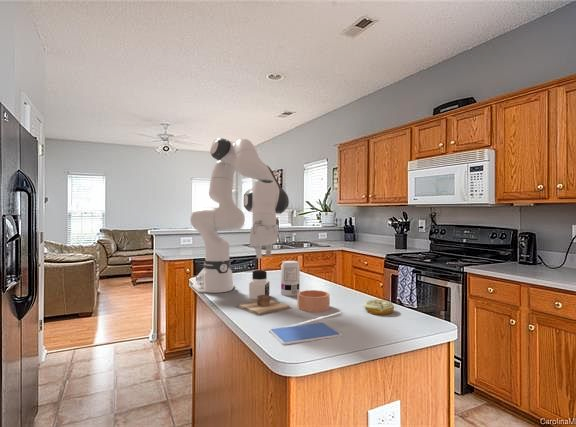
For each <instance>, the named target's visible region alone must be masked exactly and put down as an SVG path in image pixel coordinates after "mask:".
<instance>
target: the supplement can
mask: <svg viewBox="0 0 576 427" xmlns="http://www.w3.org/2000/svg"><path fill="white" fill-rule="evenodd" d="M300 266H301V265H300V264H299V261H297V260H284V261H282V263H281V266H280V270H281V271H280V277H281V278H280V294H281V295H282V296H285V297H295V296H296V297H297V293H299V292H300V276H301V275H300V272H301V271H300V268H301V267H300Z"/></svg>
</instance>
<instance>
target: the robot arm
mask: <svg viewBox="0 0 576 427" xmlns="http://www.w3.org/2000/svg"><path fill="white" fill-rule="evenodd" d="M210 155H211V157H212V158H213V159H215V160H216V162H215V163H214V165H213V167H212V171H211V175H210V180H209V189H208V195H209V197H210V199H211V200H212V201H214V202H216V203H217V204H219V206H218V207H201V208H196V209H194V210H193V211H192V213H191V215H190V223H191V224H190V225H191V227H192V228H193V229H194V230H196V232H198V233H199V234H200V236H201V237H202V240H203V242H204V249H205V250H204V251H205V260H204V261H203V268H202V269H201V270H200V272H199V273H198V274H197V275H196V277H195V281H196V283H193V284H191V288H193V289H194V290H195V291H196V292H198V293H211V294H212V293H215V294H216V293H219V294H220V293H226V292H230V291H232V290H233V288H234V289H235V288H236V284H234V279H233V271H232V269H231V259H230V244H229V242H228V241H227V240H226V239H224V238H223V237H221V236H220V235H219V233H218V231H219V232H220V231H221V232H223V231H224V232H225V231H226V232H231V231H238V230H241V229H242V227H243V226H244V224H245V221H246V219H245V214H244V212H243V211H242V209H240V208H239V207H238V206H237V205H236V203H235V202H234V199H233V189H234V175H235V172H236V171H237V172H238V173H239V175H241V176H243V177H245V178H250V179H254V182H253V187H252V188H250V189H248V190H246V191H245V193H244V194H243V208H244V209H245V210H246V211H247V212H249V213H252V226H251V227H250V232H249V245H250V247H252V248H253V247H254V250H255V253H256V254H255V256H256V259H263V252H262V249H263V246H264V247H266V251H265V256H266V257H267V256H269V257H270V256H272V250H273V245H274V244H276V243H277V241H278V233H279V232H278V231H279V227H278V226H279V225H280V221H279V219H278V218H277V216H276V215H277V214H279V215H281V214H282V213H284V212H285V211H286V210H287V209H288V208H289V204H290V200H289V195H288V194H287V192H286V191H285V190H284V189H283V188H282V187H281V185H280V183H279V181H278V179H277V177H276V176H275V174H274V172H273V171H272V169H271V167H270V166H269V165H267V164H266V163H265V162H263V161H262V160H261V158H260V157H259V155H258V152H257V149H256V147H255V145H254V144H253V142H252V141H250V140H249V139H247V138H241V139H238V140H237V141H236V142H234V141H232V140H231V141H230V140H229V139H227V138H222V137H218V138H216V139H214V141H213V142H212V144H211V146H210Z"/></svg>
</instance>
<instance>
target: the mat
mask: <svg viewBox="0 0 576 427" xmlns="http://www.w3.org/2000/svg"><path fill="white" fill-rule="evenodd" d="M234 308H237V309H240V310H242V311H244V312H247V313H250V314H252V315H255V316H256V317H261V316H266V315H269V314H274V313H278V312H282V311H283V312H284V311H287V310H291V309H293V307H291V306H289V308H287V309H283V310H278V311H274V312H270V313H265V314H261V315H258V314H256V313H253V312H251V311H248V310H246V309H243V308H241V307H238V305H234Z"/></svg>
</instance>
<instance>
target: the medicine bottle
mask: <svg viewBox="0 0 576 427" xmlns="http://www.w3.org/2000/svg"><path fill="white" fill-rule="evenodd" d="M267 275H268V274H267V271H266V270H264V269H257V270H254V271H252V281H251V282H249V283H248V284H249V286H248V292H249V293H248V295H249V296H248V297H249V298H248V299H250V300H257V296H259V295H267V296H270V280H267V279H268V278H267Z"/></svg>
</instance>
